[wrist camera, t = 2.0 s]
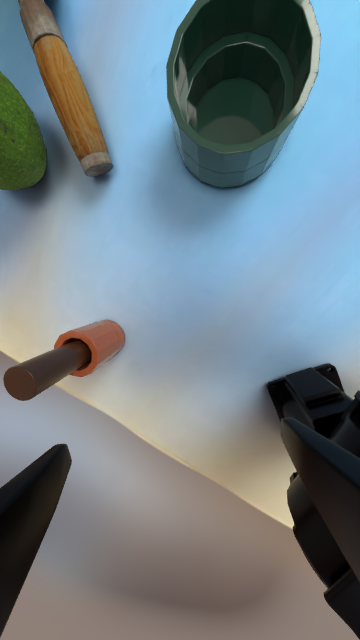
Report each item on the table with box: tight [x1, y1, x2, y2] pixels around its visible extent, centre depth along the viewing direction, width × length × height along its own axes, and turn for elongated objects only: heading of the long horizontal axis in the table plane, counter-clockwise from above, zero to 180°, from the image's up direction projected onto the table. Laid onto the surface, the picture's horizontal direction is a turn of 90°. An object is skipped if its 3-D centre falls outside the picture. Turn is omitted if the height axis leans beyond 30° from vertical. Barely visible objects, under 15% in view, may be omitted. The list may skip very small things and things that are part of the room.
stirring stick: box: [4, 339, 92, 401], centre depth 16 cm, size 2×2×9 cm
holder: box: [54, 320, 125, 377], centre depth 19 cm, size 4×4×6 cm
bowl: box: [166, 0, 321, 187], centre depth 14 cm, size 9×9×5 cm
